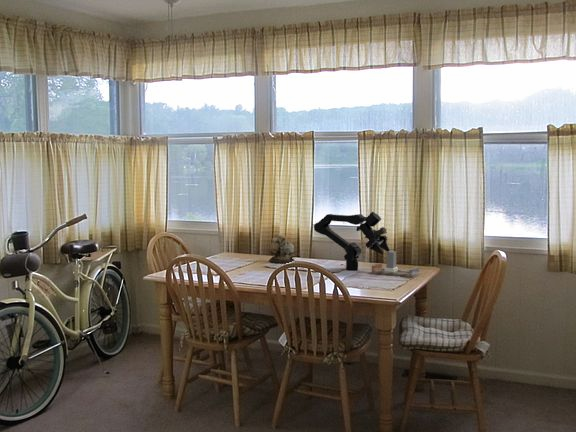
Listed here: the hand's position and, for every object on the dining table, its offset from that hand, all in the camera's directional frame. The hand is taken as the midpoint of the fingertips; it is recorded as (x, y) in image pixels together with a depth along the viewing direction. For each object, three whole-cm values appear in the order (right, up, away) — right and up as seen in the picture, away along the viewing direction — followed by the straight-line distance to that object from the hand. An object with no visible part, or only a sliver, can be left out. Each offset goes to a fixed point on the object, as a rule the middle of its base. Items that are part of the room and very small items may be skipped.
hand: (386, 252), depth 332 cm
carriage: (+3, -10, -1) cm, 11 cm away
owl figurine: (-59, -8, +37) cm, 70 cm away
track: (+5, -12, -2) cm, 13 cm away
